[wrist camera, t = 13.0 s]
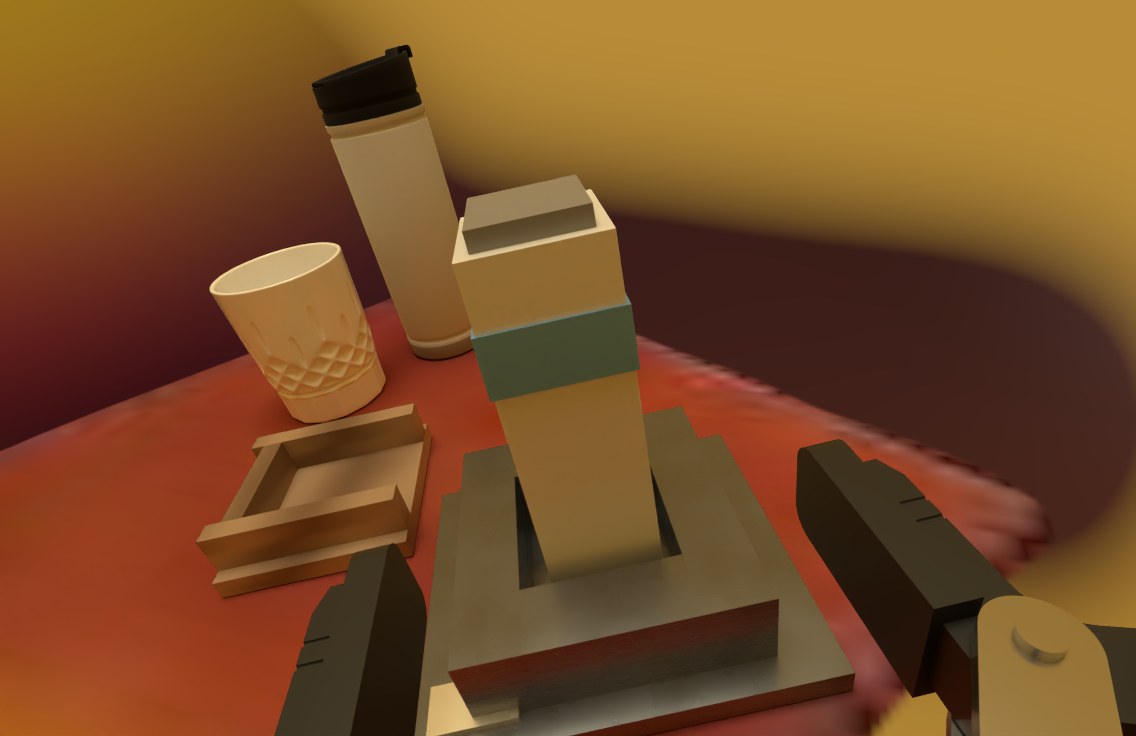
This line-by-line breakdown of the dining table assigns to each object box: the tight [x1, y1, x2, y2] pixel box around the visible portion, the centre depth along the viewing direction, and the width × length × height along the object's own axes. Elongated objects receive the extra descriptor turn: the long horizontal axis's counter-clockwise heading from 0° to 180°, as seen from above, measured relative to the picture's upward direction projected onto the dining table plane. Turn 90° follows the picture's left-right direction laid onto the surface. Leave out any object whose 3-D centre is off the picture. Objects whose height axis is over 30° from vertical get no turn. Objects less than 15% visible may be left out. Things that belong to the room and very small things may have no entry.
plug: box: [452, 175, 663, 583], centre depth 18 cm, size 4×4×15 cm
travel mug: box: [312, 45, 473, 359], centre depth 39 cm, size 6×7×20 cm
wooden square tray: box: [196, 403, 432, 598], centre depth 29 cm, size 9×9×3 cm
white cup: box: [210, 242, 386, 423], centre depth 37 cm, size 8×8×10 cm
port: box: [415, 406, 855, 736], centre depth 22 cm, size 14×12×4 cm
